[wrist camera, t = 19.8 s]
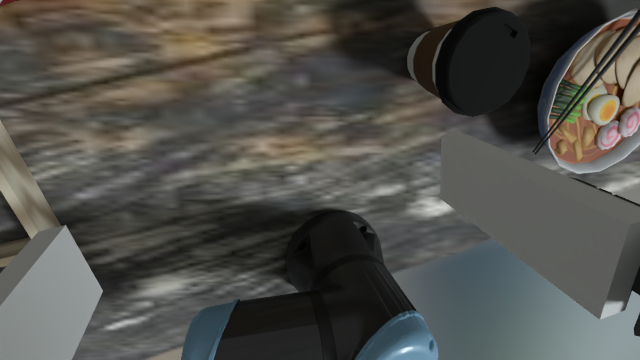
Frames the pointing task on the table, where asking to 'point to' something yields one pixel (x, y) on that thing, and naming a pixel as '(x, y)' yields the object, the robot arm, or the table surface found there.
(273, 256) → the table surface
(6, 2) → the plastic cup
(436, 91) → the coffee cup
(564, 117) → the ramen bowl
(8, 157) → the frame
